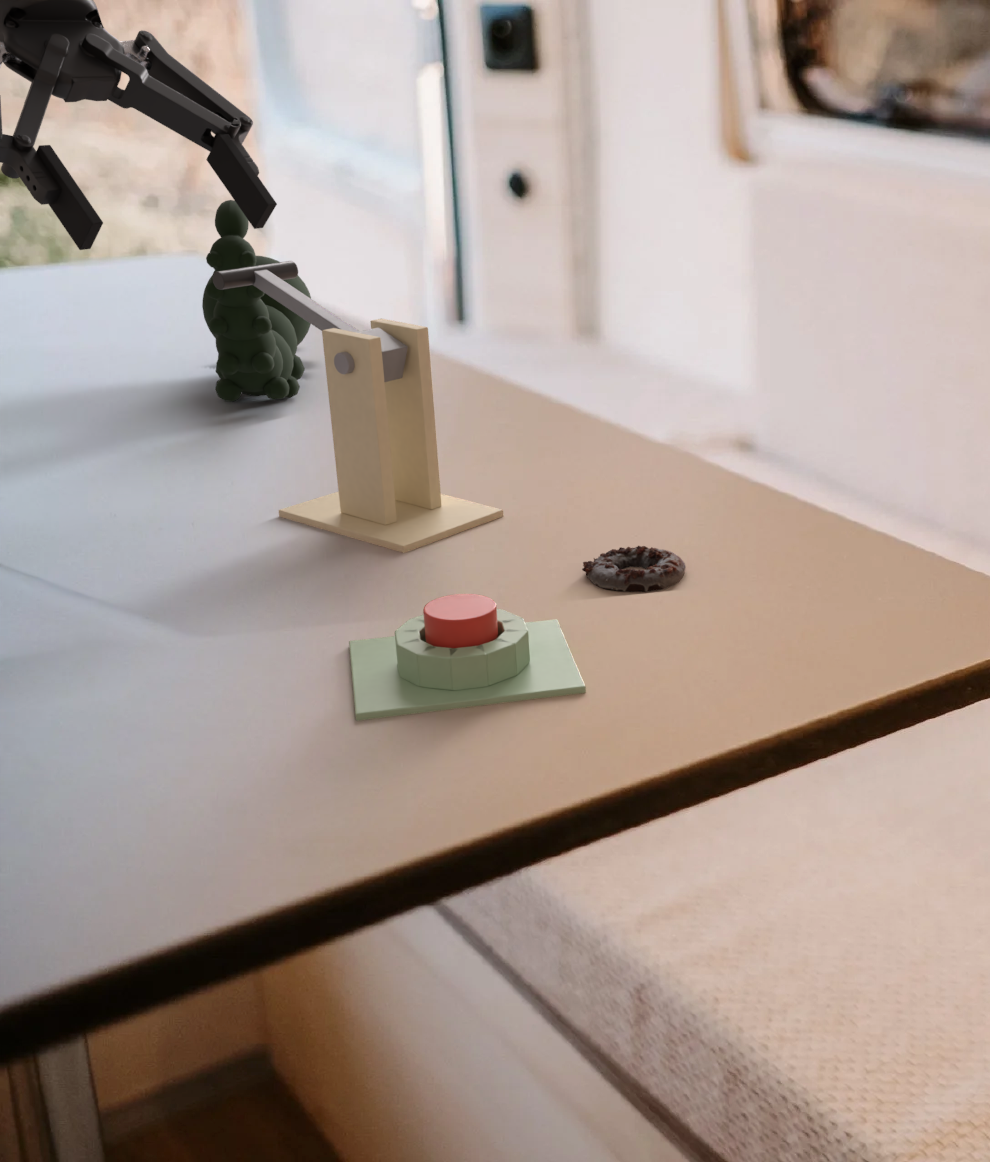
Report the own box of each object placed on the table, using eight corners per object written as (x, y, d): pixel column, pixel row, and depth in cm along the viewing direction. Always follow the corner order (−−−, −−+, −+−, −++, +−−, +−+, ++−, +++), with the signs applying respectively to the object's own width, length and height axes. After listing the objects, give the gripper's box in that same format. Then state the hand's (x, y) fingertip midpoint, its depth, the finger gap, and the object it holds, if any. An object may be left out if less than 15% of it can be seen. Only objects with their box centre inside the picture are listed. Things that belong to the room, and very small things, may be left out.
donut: (624, 555, 97) (623, 526, 96) (725, 577, 94) (725, 547, 93) (547, 597, 90) (545, 566, 89) (654, 622, 87) (654, 589, 86)
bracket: (280, 527, 100) (255, 327, 95) (383, 494, 107) (365, 306, 102) (404, 564, 94) (386, 353, 89) (504, 527, 101) (492, 329, 96)
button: (428, 655, 73) (426, 623, 72) (423, 628, 76) (420, 597, 75) (502, 647, 74) (500, 615, 73) (493, 620, 77) (491, 590, 77)
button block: (359, 754, 71) (351, 679, 69) (352, 677, 78) (345, 609, 77) (587, 725, 74) (584, 653, 73) (559, 654, 82) (555, 588, 81)
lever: (210, 293, 98) (213, 260, 97) (285, 281, 103) (288, 249, 102) (353, 390, 94) (358, 357, 93) (424, 373, 99) (430, 341, 97)
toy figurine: (313, 437, 125) (321, 347, 147) (288, 216, 117) (300, 154, 138) (194, 442, 123) (220, 350, 144) (159, 216, 114) (192, 154, 135)
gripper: (160, 28, 116) (308, 240, 114) (-184, 26, 96) (-10, 283, 94) (194, -43, 112) (348, 176, 110) (-159, -61, 91) (23, 207, 90)
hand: (183, 226), depth 102 cm, fingers open, 13 cm apart
